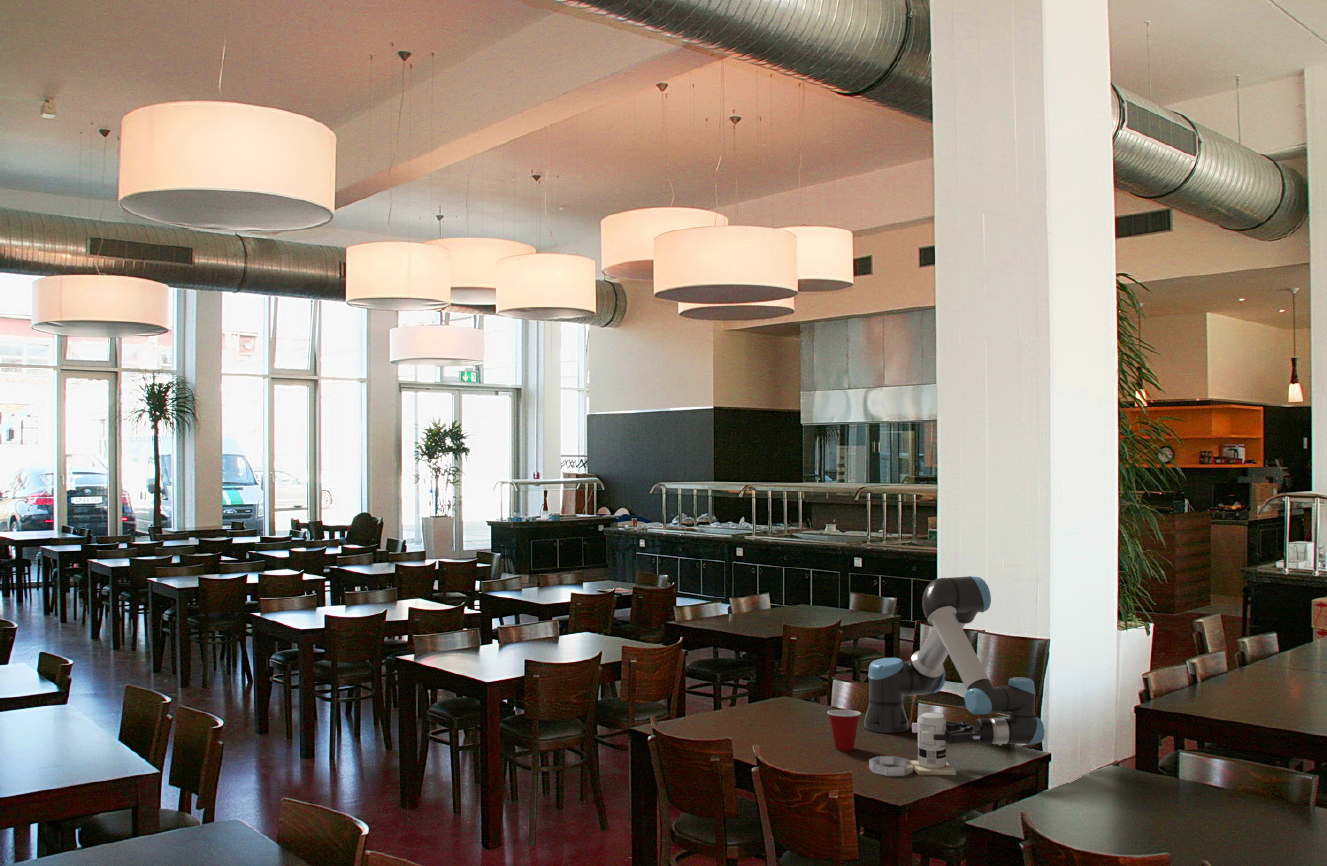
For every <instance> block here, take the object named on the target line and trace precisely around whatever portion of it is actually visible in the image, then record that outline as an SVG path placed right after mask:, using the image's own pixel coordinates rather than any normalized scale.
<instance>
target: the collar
mask: <svg viewBox="0 0 1327 866" xmlns="http://www.w3.org/2000/svg"><path fill="white" fill-rule="evenodd" d="M868 768H869V770H870V771H871V772H872V773H873V774H875V775H876V774H877V775H881V776H885V777H906V776H908V775H910V774H912V773H913V772H914V769H913V763H912V762H911V761H910V759H909V758H906V757H900V756H896V755H877V756H875V757H871V758H869V759H868ZM905 775H906V776H905Z"/></svg>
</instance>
